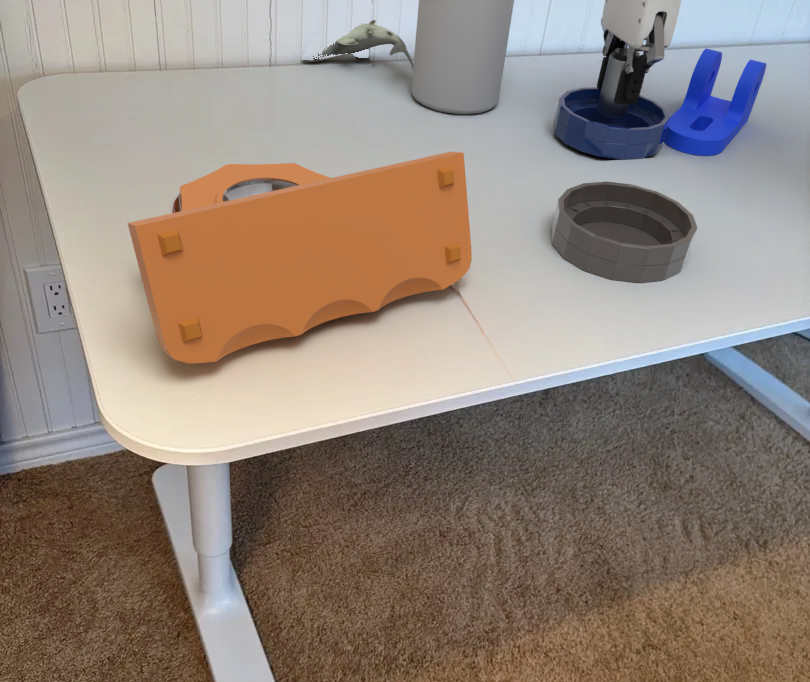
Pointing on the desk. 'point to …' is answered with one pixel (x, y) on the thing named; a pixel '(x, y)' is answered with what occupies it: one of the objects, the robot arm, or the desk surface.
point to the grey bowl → (622, 231)
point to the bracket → (712, 108)
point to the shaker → (613, 85)
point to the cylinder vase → (460, 54)
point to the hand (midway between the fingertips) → (616, 94)
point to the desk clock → (297, 249)
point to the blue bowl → (610, 126)
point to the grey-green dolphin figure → (366, 41)
